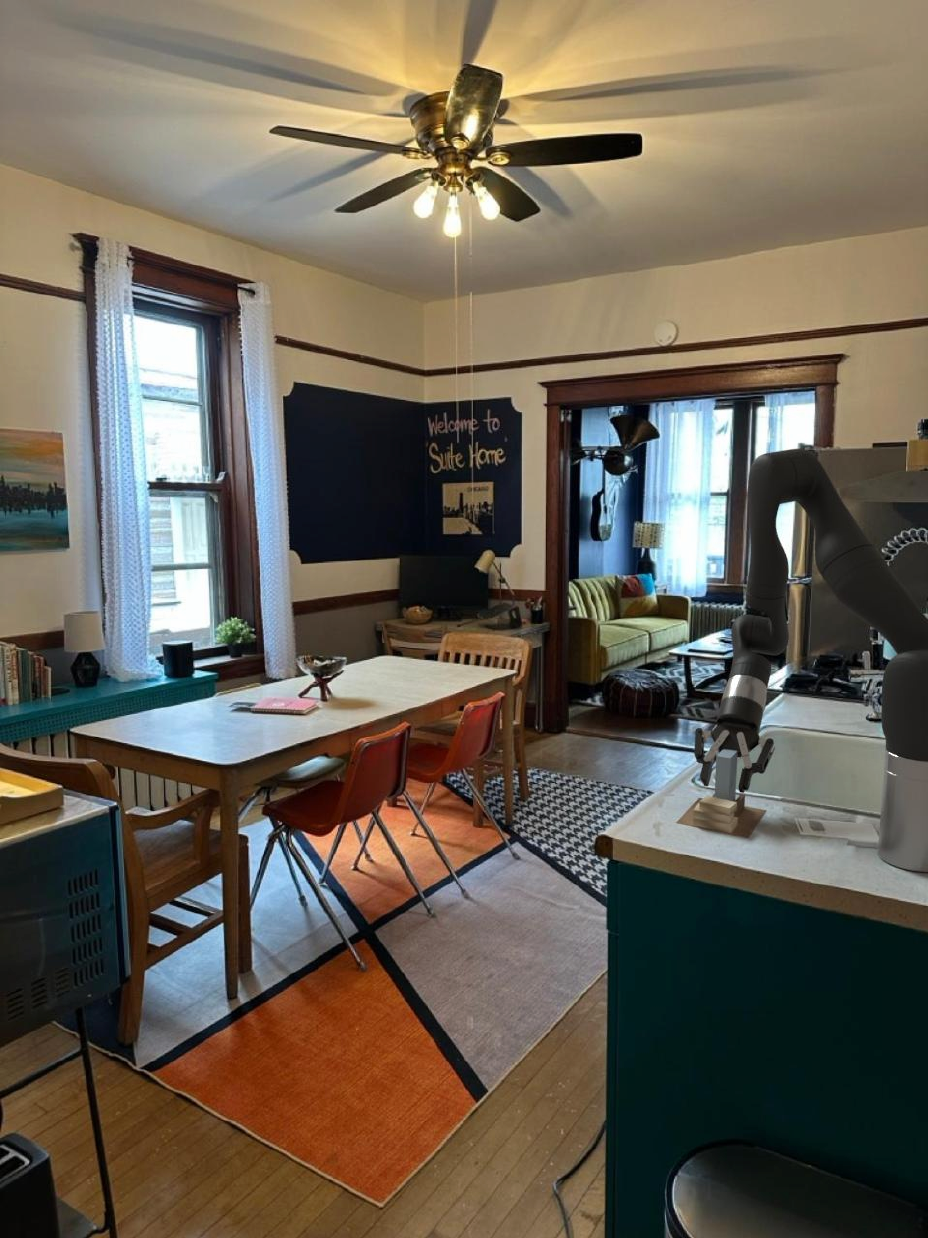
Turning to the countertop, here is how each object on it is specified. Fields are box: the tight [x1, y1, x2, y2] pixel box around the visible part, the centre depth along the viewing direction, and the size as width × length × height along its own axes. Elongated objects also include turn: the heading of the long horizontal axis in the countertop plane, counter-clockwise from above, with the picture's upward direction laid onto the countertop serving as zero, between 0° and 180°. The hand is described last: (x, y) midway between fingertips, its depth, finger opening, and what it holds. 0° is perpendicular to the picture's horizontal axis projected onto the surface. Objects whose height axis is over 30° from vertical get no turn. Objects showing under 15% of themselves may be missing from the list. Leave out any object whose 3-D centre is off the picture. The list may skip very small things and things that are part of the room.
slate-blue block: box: [714, 749, 738, 802], centre depth 141 cm, size 2×5×11 cm, turn 148°
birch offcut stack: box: [693, 795, 738, 833], centre depth 136 cm, size 7×4×4 cm, turn 58°
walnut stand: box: [675, 793, 767, 839], centre depth 140 cm, size 12×14×4 cm
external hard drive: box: [793, 817, 879, 849], centre depth 135 cm, size 2×8×12 cm
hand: (723, 787), depth 140 cm, fingers open, 5 cm apart
